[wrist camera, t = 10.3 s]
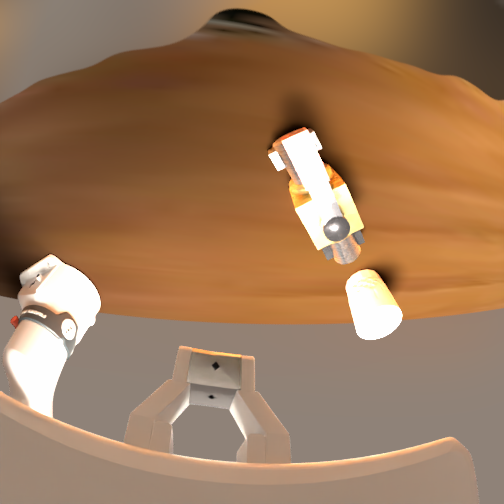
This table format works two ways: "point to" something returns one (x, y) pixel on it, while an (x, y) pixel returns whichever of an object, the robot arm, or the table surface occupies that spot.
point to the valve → (308, 212)
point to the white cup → (372, 305)
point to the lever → (316, 183)
